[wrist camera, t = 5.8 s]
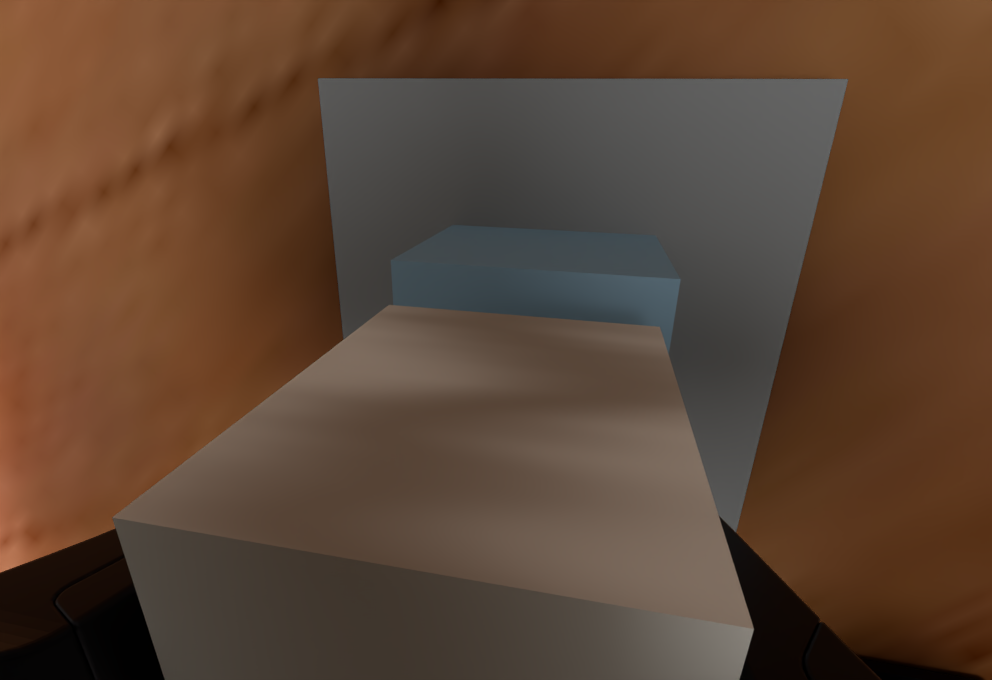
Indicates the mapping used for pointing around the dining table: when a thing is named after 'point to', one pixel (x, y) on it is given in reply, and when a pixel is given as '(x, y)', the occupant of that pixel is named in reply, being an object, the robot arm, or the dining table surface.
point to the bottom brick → (541, 275)
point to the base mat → (603, 205)
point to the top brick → (448, 517)
